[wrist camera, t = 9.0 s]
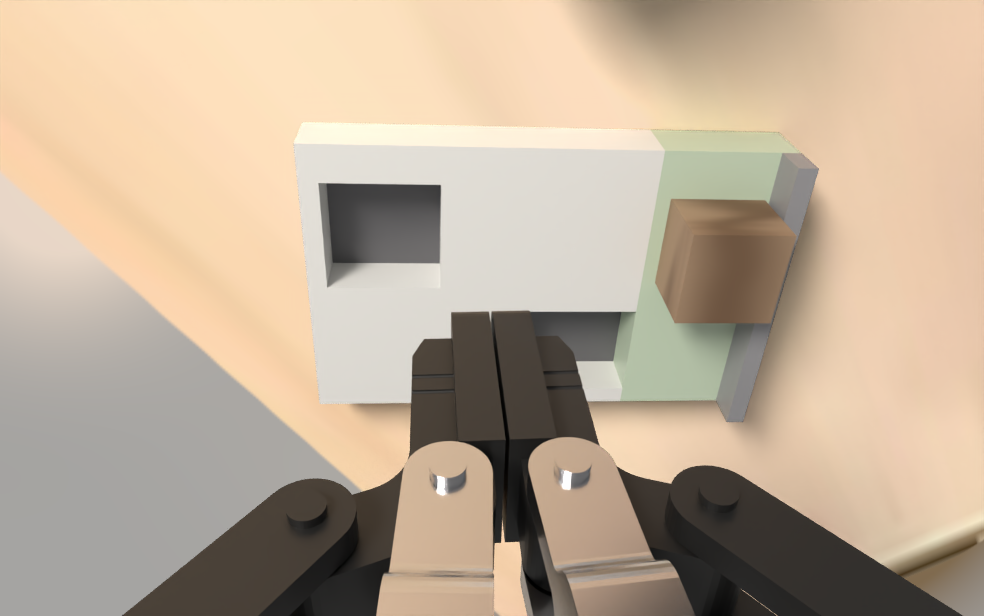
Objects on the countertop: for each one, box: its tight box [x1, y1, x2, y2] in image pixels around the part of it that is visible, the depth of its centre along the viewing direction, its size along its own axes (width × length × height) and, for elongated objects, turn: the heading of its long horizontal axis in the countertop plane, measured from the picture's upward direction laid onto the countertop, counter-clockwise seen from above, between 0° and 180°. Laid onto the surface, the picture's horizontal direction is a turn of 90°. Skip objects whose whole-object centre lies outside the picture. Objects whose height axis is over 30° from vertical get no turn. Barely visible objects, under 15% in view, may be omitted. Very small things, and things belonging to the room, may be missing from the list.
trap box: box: [294, 122, 819, 422], centre depth 41 cm, size 25×16×5 cm, turn 88°
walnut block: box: [655, 199, 797, 323], centre depth 38 cm, size 5×5×4 cm
